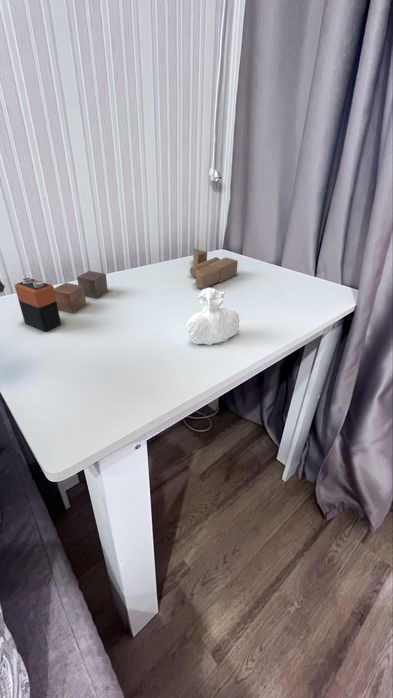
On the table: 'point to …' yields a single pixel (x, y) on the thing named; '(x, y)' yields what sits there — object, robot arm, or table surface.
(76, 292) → the line block near
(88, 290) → the line block far
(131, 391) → the table surface
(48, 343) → the table surface
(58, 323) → the battery
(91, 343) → the table surface
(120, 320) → the table surface
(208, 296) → the bust
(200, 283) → the wooden block set
